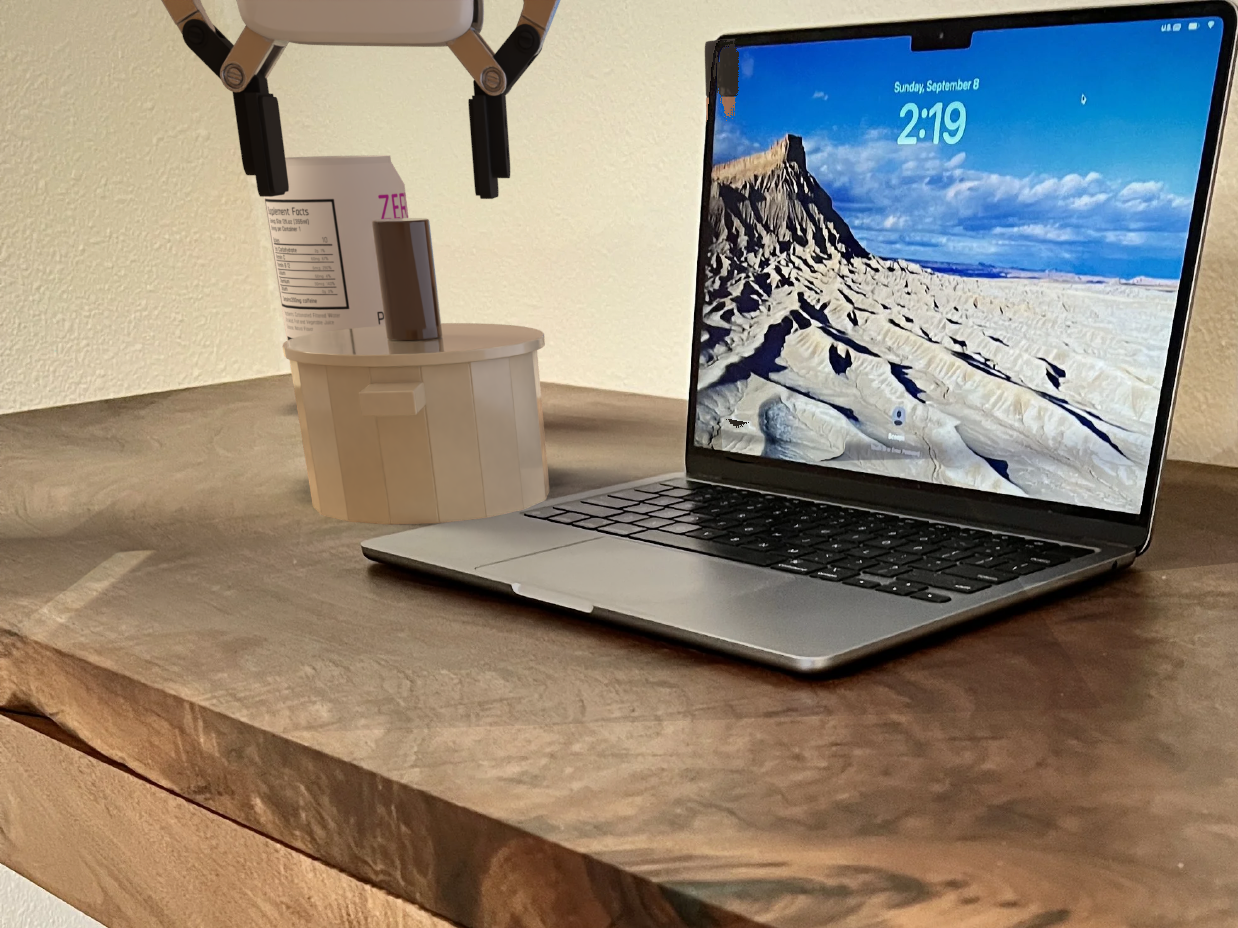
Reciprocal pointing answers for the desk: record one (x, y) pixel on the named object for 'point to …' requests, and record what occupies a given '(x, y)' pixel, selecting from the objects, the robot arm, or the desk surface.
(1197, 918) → the desk surface
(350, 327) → the supplement can
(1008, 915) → the desk surface
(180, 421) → the desk surface
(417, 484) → the pot
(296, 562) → the desk surface
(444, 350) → the lid
